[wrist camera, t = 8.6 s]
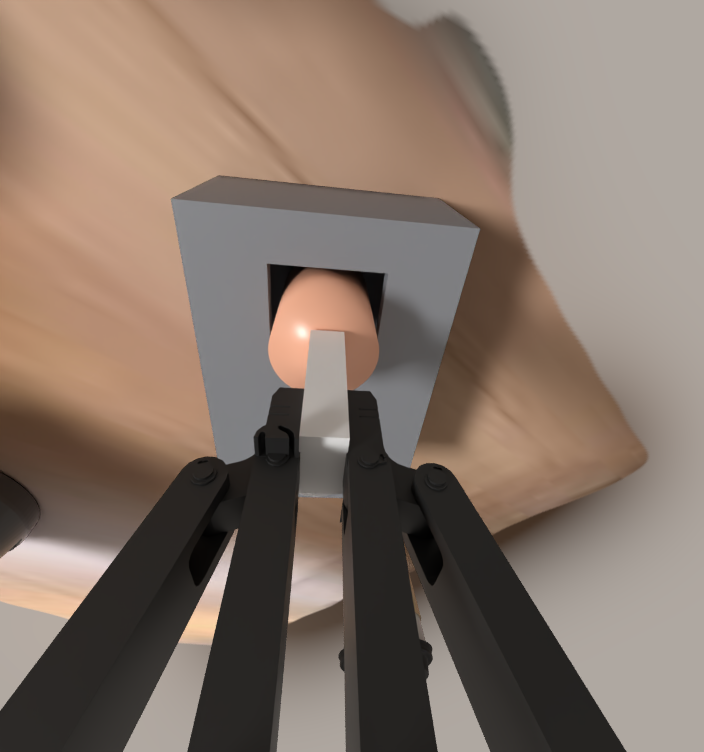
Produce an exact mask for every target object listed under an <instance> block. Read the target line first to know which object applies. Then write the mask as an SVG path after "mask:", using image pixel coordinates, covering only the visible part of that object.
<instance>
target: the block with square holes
mask: <svg viewBox="0 0 704 752" xmlns="http://www.w3.org/2000/svg"><path fill="white" fill-rule="evenodd" d="M171 202H172V208H173V213H174V219H175V224H176V230H177V235H178V241H179V247H180V252H181V258H182V263H183V269H184V274H185V280H186V286H187V291H188V297H189V302H190V308H191V313H192V319H193V325H194V330H195V336H196V341H197V347H198V352H199V358H200V364H201V369H202V375H203V380H204V386H205V391H206V397H207V403H208V408H209V414H210V419H211V425H212V430H213V436H214V442H215V447H216V453H217V458H219V459H221V460H223V461H224V463H225V464H231V463H235V462H239V461H242V460H245V459H247V458H249V457H251V456H253V455H254V454H255V450H254V439H253V437H254V435H255V433H256V431H257V430H258V429H260V428H261V427H262V426H264V425H266V422H267V417H268V413H269V408H270V404H271V399H272V395H273V394H274V393H275V392H276V391H277V390H278V389H279V388H280V387H284V388H291V387H290V386H288V385H287V384H286V383H284V382H283V381H282V380H281V379H280V378H279V376H278V375H277V374H276V372H275V371H274V369H273V367H272V365H271V363H270V359H269V354H268V344H269V338H270V335H271V331H272V328H273V324H274V321H275V317H276V314H277V310H278V307H279V303H280V300H281V297H282V293H283V290H284V286H285V283H286V280H287V277H288V275H289V273H290V271H291V270H292V268H293V267H294V266H302V267H314V268H327V269H339V270H351V271H361V273H362V275H363V277H364V279H365V282H366V286H367V290H368V295H369V300H370V305H371V310H372V314H373V319H374V324H375V329H376V334H377V339H378V343H379V358H378V362H377V365H376V367H375V369H374V371H373V373H372V374H371V376H370V377H369V378H368V379H367V380H366V381H365V382H364V383H363V384H362V385H360V386H359V387H358V388H356V389H354V390H357V391H370V392H371V393H372V394H373V396H374V397H375V398H376V400H377V406H378V412H379V419H380V425H381V432H382V438H383V445H384V449H385V452H386V453H387V454H388V456H389V457H390V458H391V459H392V460H393V461H395V462H396V463H398V464H400V465H403V466H405V467H409V468H410V466H411V462H412V459H413V456H414V452H415V449H416V445H417V442H418V439H419V435H420V432H421V428H422V425H423V422H424V418H425V415H426V411H427V408H428V405H429V401H430V398H431V394H432V391H433V388H434V384H435V381H436V377H437V374H438V371H439V367H440V364H441V360H442V357H443V354H444V350H445V347H446V343H447V340H448V337H449V333H450V330H451V326H452V323H453V320H454V316H455V313H456V309H457V306H458V303H459V299H460V296H461V292H462V289H463V286H464V282H465V279H466V275H467V272H468V269H469V265H470V262H471V258H472V255H473V252H474V248H475V245H476V241H477V238H478V235H479V231H480V228H479V227H477V226H476V225H474V224H473V223H472V222H470V221H469V220H468V219H466V218H465V217H464V216H462V215H461V214H459V213H458V212H457V211H455V210H454V209H453V208H451V207H450V206H449V205H447V204H446V203H444V202H443V201H442V200H440V199H439V198H430V197H421V196H411V195H402V194H392V193H382V192H373V191H363V190H354V189H344V188H334V187H325V186H315V185H306V184H296V183H286V182H277V181H267V180H258V179H248V178H239V177H229V176H216V177H214V178H212V179H210V180H208V181H206V182H204V183H202V184H200V185H198V186H196V187H194V188H192V189H190V190H188V191H186V192H184V193H182V194H180V195H178V196H175V197H173V198H171ZM298 497H314V496H305V495H301V494H299V495H298ZM318 497H322V498H343V492H342V494H332V495H327V496H318Z"/></svg>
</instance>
